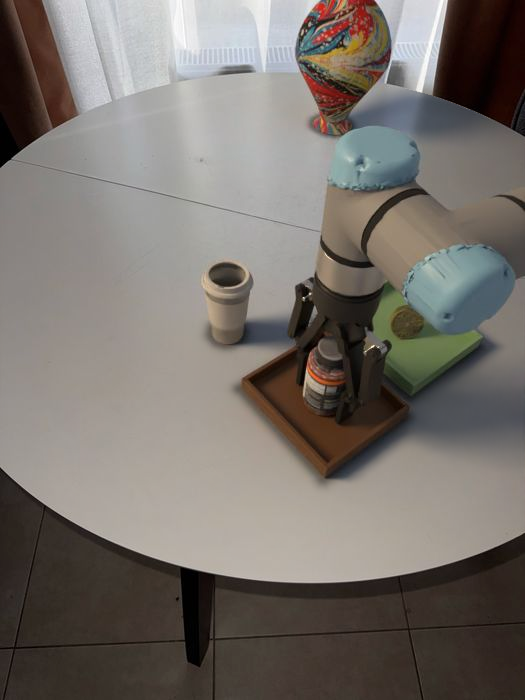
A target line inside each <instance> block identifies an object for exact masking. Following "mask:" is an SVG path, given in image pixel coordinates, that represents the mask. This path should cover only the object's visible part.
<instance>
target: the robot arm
mask: <svg viewBox="0 0 525 700" xmlns="http://www.w3.org/2000/svg"><path fill="white" fill-rule="evenodd" d="M420 161H421V153H420V150H419V148H418V144H417V142H416V141H415V140H414V139H413V138H412V137H411V136H409V135H408V134H407V133H405V132H403V131H400V130H398V129H395V128H393V127H389V126H383V125H382V126H381V125H366V126H362V127H360V128H354V129H351V130H350V131H349V132H347V133H345V134H342V136H341V137H340V138H339V139H338V141H337V142H336V145H335V147H334V151H333V156H332V160H331V164H330V167H329V172H328V174H327V175H326V176H327V177H326V181H327V183H326V191H325V198H324V199H325V200H324V208H323V215H322V222H321V229H320V236H319V242H318V248H317V253H316V259H315V260H316V261H315V268H314V270H315V271H314V273H313V276H311V277H308V278H306V279H305V280H303V281H301V282H300V283H299V282H298V284H295V286H294V291H295V292H294V294H295V300H294V304H293V308H292V312H291V315H290V320H289V323H288V327H287V331H286V335H287V337H288V338H289V339H290V340H293V339H294V341H295V346H296V347H297V356H296V359H297V362H298V363H299V364H298V371H297V378H296V383H297V384H298V385H299V386H300V385H302V384H304V382H305V375H306V367H307V362H308V357H309V354H310V352H311V351H312V350H313V349H314V348H315V347H316V346H317V345H316V344H314V345H313V346H312V344H313V343H314V342H316V341H317V340H319V339H318V338H319V337H320V336H321V335H322V334H323V333H324V331H325V330H326V331H327V332H328V333H329V334H330V335H332V336H333V337H334V338H335V339H336V341H337V348H338V352H339V353H340V354H342V359H343V367H344V374H345V382H346V390H345V391H343V392H342V393H341V397H340V401H339V405H338V409H337V412H336V416H335V420H334V421H335V422H336V423H337V424H338V425H339V424H340V423H342V422H343V421H345V420H346V419H347V418H349V417H350V416H352V415H353V413H354V411H355V410H356V409H358V408H359V407H361V406H363V407H365V406H367V405H368V404H370V403H371V402H372V401H374V400H375V399H377V398H378V397H379V396H380V391H381V384H382V381H383V377H384V373H383V372H384V366H385V359H386V355H387V354H388V353H389V351H390V350H391V349H392V344H391V343H390V341H388V340H384V341H383V342H381V341H380V340H379V339H378V337H377V336H376V335H375V334H374V333H373V331H374V326H373V317H374V315H375V313H376V312H377V309H378V307H379V304H380V301H381V297H382V293H383V290H384V286H385V281H386V279H387V280H388V281H389V283H390V284H391V285H392V286H393V287H394V288H395V289H396V290H397V291H398V292H399V294H400V295H401V296H402V297H403V298H404V299H405V301H406V303H407V304H408V305H409V306H410V307H411V308H412V309H413V310H414V311H416V312H418V313H419V314H421V315H422V316H423V317H424V318H425V319H426V320H427V321H428V322H429V323H430V324H431V325H432V326H433V327H434V328H435V329H436V330H438V331H439V332H441V333H443V334H447V335H460V334H464V333H467V332H470V331H472V330H475V329H477V328H479V327H480V326H481V324H482V323H484V322H485V321H487V320H491V319H492V318H493V317H494V316H496V314H497V313H499V311H500V310H501V309H502V308H503V307H504V305H505V304H506V303H507V301H508V300H509V298H510V297H511V295H512V293H513V291H514V289H515V285H516V280H518V279H521V278H523V277H525V185H523V186H520V187H518V188H514V189H512V190H509V191H506V192H503V193H500V194H497V195H493V196H491V197H487V198H485V199H482V200H479V201H475V202H473V203H469V204H466V205H464V206H460V207H458V208H457V207H456V208H455V209H447V207H445V206H444V205H442V203H441V202H439V201H438V200H437V199H436V198H435V197H433V196H432V195H431V194H430V193H429V192H428V191H427V190H426V189H424V187H422V186H421V185H420V184H419V183H417V180H416V178H417V177H418V176H419V173H420V168H419V167H420ZM314 308H315V310H316V314H315V317H314V318H313V319H312V315H313V311H314ZM311 319H312V320H311ZM310 321H311V322H310ZM365 344H366V350H364V346H365Z"/></svg>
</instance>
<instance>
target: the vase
mask: <svg viewBox="0 0 525 700" xmlns="http://www.w3.org/2000/svg"><path fill="white" fill-rule="evenodd" d="M392 44H393V43H392V36H391V30H390V27H389V24H388V21H387V18H386V16H385V14H384V12H383V10H382V8H381V7H380V5H379V3H377V1H376V0H319V1H318V2H316V4H315V5H314V6H313V7H312V8H311V10H310V11H309V12H308V14H307V16H306V17H305V18H304V20H303V22H302V24H301V26H300V29H299V30H298V33H297V37H296V41H295V48H294V58H295V62H296V65H297V67H298V69H299V71H300V74H301V76H302V77H303V79H304V81H305V83H306V85H307V87H308V89H309V91H310V94H311V95H312V98H313V99H314V101H315V103H316V106H317V108H318V112H319V116H318V117H315V119H314V120H313V122H312V124H313V127H314V128H315V129H316V130H317V131H319V132H321V133H322V134H325V135H332V136H340V135H344V134H346V133H347V132H349V131H351V130H352V128H353V124H352V123H351V121H350V120H349V119H348V118H349V116H350V115H351V112H352V111H353V110H354V108H356V106H357V105H358V104H359V103H360V102H361V100H362V99H363V98H364V97H365V96H366V95H367V94H368V92H370V90H371V89H372V88H373V87H374V86H375V85H376V84H377V82H378V81H379V80H380V79H381V78H382V77H383V75H384V74H385V73H386V71H387V70H388V68H389V66H390V62H391V57H392V50H393V49H392Z"/></svg>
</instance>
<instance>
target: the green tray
mask: <svg viewBox="0 0 525 700" xmlns="http://www.w3.org/2000/svg"><path fill="white" fill-rule="evenodd" d="M404 305H408V304H407V303H406V301H405V299H404V298H403V297H402V296H401V295H400V294H399V292H398V291H397V290H396V289H395V288H394V287H393V286H392V285H391V284H390V283H389V281H388V280H387V279H386V281H385V286H384V290H383V293H382V297H381V301H380V304H379V307H378V309H377V312H376V313H375V315H374V317H373V326H374V331H373V333H374V334H375V335H376V336H377V337H378V339H379V340H380V341H381V342H383V341H384V340H388V341H390V343H391V344H392V349H391V350H390V351H389V353H388V354H387V355H386V359H385V366H384V372H383V375H385V376H386V377H387V378H388V379H390V381H392V382H393V383H394V384H395V385H397V386H398V388H400V389H401V390H402V391H403V392H404V393H405V394H406V395H408V396H409V397H412V396H413V395H415V394H416V393H417V392H418V391H420V390H421V389H423V388H424V387H425V386H426V385H428V384H429V383H431V382H432V381H434V380H435V379H436V378H437V377H439V376H441V375H442V374H443V373H444V372H446V371H447V370H448V369H450V368H451V367H453V366H454V365H455V364H456V363H458V362H460V361H461V360H462V359H464V358H465V357H466V356H467V355H469V354H470V353H472V352H473V351H475V349H477V348H479V346H480V344H481V342H482V340H483V338H484V336H483V335H482V334H481V333H480V332H478V331H477V330H475V329H474V330H472V331H470V332H467V333H464V334H460V335H447V334H443V333H441V332H439V331H438V330H436V329H435V328H434V327H433V326H432V325H431V324H430V323H429V322H428V321H427V320H426V319H425V318H424V327H423V329H422V330H421V332H420V333H418V334H417V335H415V336H413V337H410V338H407V339H400V338H398V337H396V336H395V335H394V334H393V332H392V330H391V328H390V317H391V315H392V313H393V312H394V311H395V310H396V309H397V308H398V307H400V306H404ZM364 350H366V344H365V346H364Z"/></svg>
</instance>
